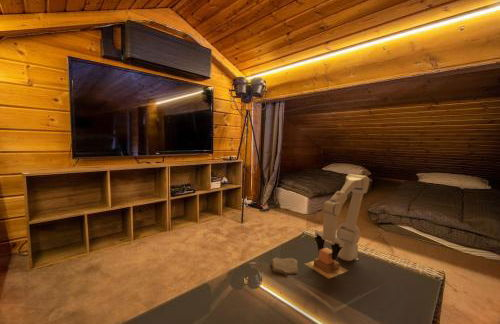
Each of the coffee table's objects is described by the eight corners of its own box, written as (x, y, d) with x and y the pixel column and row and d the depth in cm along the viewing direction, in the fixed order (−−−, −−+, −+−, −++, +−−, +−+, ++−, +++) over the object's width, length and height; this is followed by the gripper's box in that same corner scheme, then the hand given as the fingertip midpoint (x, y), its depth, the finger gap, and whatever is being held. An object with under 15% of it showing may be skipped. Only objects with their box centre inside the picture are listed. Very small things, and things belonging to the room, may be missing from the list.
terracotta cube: (325, 257, 112) (326, 247, 112) (334, 262, 108) (335, 251, 108) (318, 259, 110) (319, 249, 109) (327, 264, 106) (328, 253, 105)
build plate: (323, 259, 119) (323, 257, 119) (348, 272, 107) (348, 270, 107) (304, 265, 111) (304, 263, 111) (328, 281, 100) (328, 278, 100)
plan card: (345, 285, 97) (345, 284, 97) (361, 294, 91) (361, 293, 91) (336, 289, 94) (336, 288, 94) (352, 299, 88) (352, 298, 88)
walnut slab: (324, 261, 115) (325, 255, 115) (338, 269, 108) (339, 262, 108) (313, 265, 110) (314, 259, 110) (327, 273, 104) (328, 267, 103)
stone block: (299, 280, 102) (296, 265, 112) (299, 271, 101) (297, 256, 110) (271, 278, 103) (271, 263, 112) (272, 269, 102) (271, 254, 111)
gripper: (311, 223, 112) (309, 251, 113) (337, 234, 100) (334, 264, 101) (321, 221, 116) (319, 248, 117) (347, 231, 104) (344, 261, 105)
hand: (327, 255), depth 109 cm, fingers open, 7 cm apart
